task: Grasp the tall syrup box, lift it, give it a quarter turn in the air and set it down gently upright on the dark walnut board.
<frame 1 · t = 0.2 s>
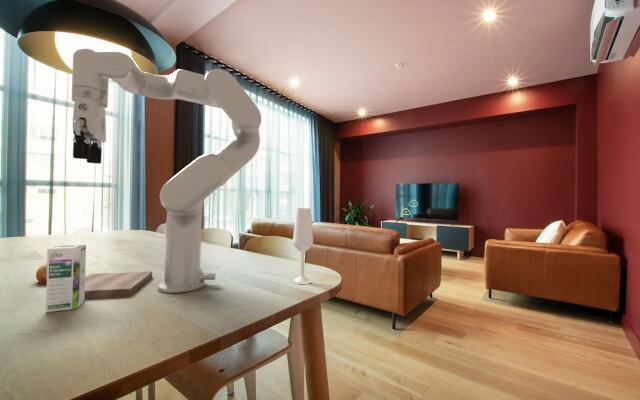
hand: (87, 160, 74), 36 cm above the table, tool pointing down, fingers open, 9 cm apart
fruit: (60, 280, 86), on the table
champagne flute: (301, 282, 89), on the table
walnut board: (108, 287, 79), on the table
syrup box: (66, 307, 65), on the table
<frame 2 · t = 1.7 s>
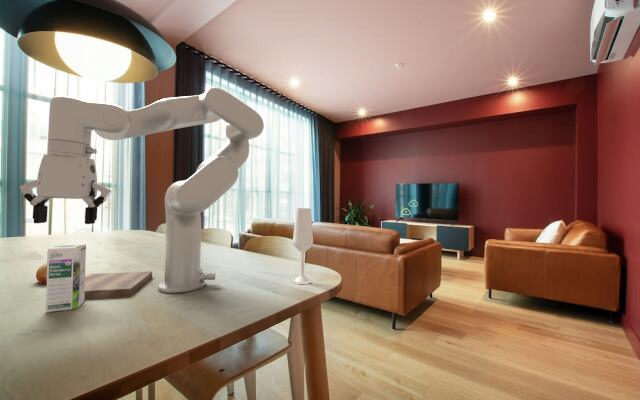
hand: (65, 223, 65), 20 cm above the table, tool pointing down, fingers open, 9 cm apart
nothing on the table moved.
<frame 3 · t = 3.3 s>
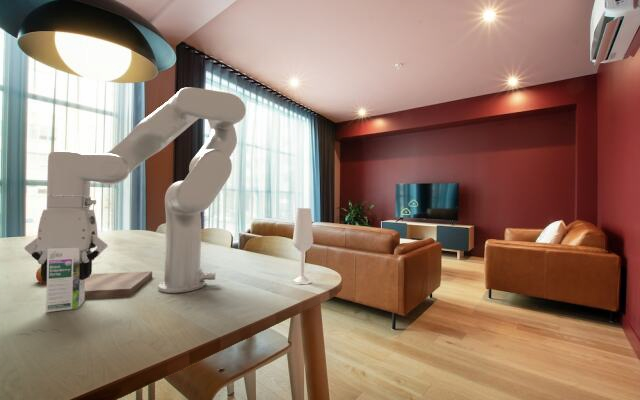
hand: (66, 278, 65), 7 cm above the table, tool pointing down, fingers closed on syrup box, 6 cm apart
syrup box: (66, 307, 65), on the table, touching gripper
everything else where it was.
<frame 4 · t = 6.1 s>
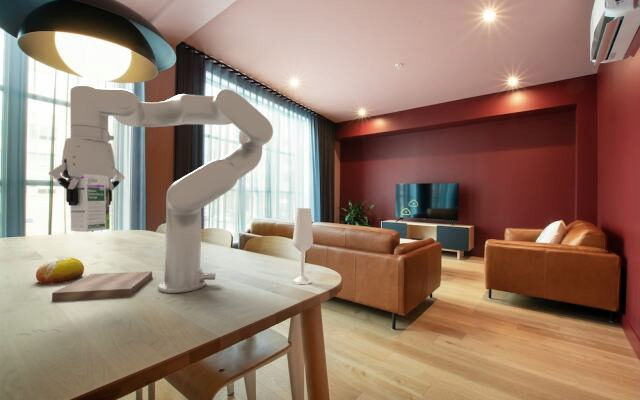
hand: (90, 204, 71), 24 cm above the table, tool pointing down, fingers closed on syrup box, 6 cm apart
syrup box: (90, 231, 71), point 17 cm above the table, touching gripper
everything else where it was.
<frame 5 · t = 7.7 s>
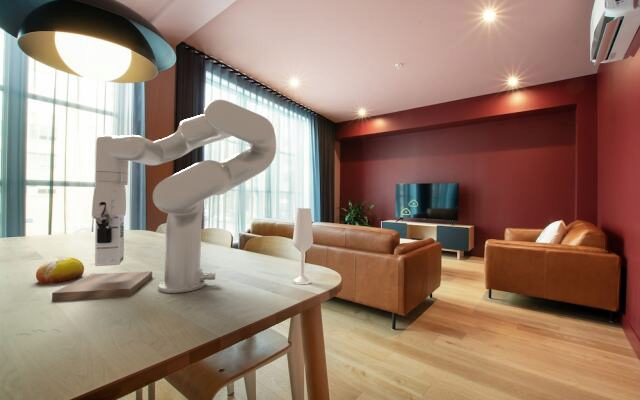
hand: (110, 240, 79), 14 cm above the table, tool pointing down, fingers closed on syrup box, 6 cm apart
syrup box: (109, 264, 79), point 7 cm above the table, touching gripper
everything else where it was.
when the fingers open (10 cm above the table, at t = 9.0 s): syrup box drops 1 cm, resting on walnut board.
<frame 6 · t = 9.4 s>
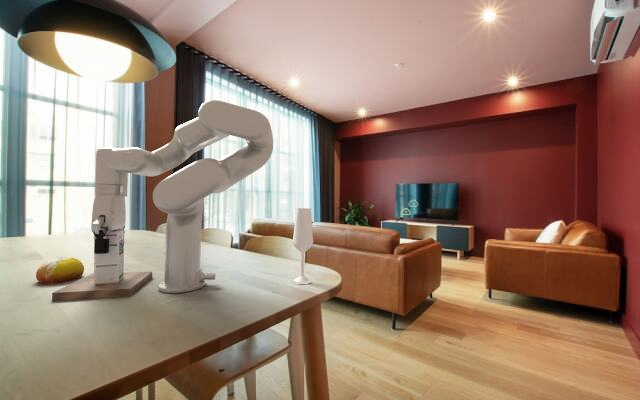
hand: (109, 250, 79), 11 cm above the table, tool pointing down, fingers open, 9 cm apart
syrup box: (109, 281, 79), point 2 cm above the table, touching walnut board
everything else where it was.
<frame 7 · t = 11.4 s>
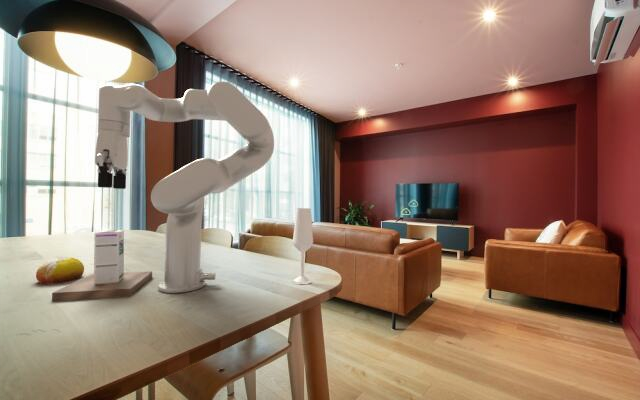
hand: (112, 187, 80), 29 cm above the table, tool pointing down, fingers open, 9 cm apart
nothing on the table moved.
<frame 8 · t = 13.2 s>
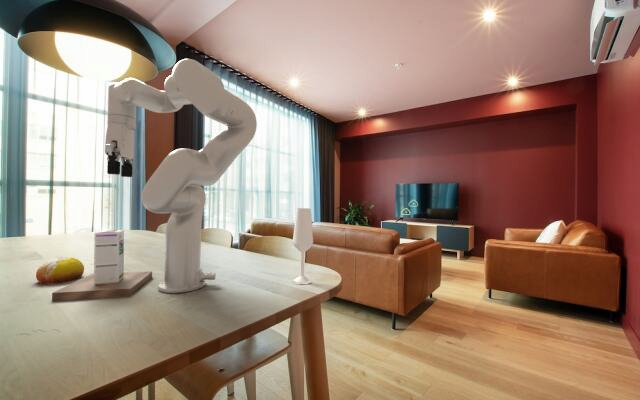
hand: (120, 175, 89), 33 cm above the table, tool pointing down, fingers open, 9 cm apart
nothing on the table moved.
at the end: syrup box inside the target area on the walnut board (0.3 cm from its centre), point 1.8 cm above the walnut board's base; syrup box tilted 0°; the gripper is holding nothing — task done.
